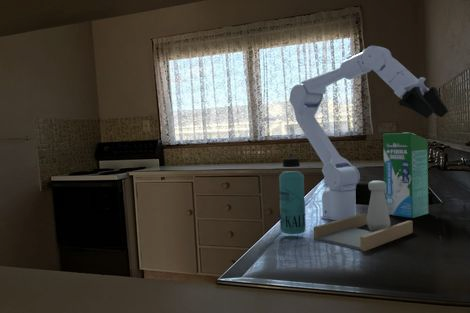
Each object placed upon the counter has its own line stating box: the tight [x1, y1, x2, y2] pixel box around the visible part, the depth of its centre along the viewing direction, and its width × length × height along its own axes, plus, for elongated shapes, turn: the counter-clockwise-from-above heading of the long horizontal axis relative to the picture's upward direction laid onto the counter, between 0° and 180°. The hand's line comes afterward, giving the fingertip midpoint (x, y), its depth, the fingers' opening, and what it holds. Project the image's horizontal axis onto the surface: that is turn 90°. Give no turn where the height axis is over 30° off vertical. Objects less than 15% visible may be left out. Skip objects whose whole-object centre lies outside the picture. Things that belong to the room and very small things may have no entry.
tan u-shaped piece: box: [313, 213, 414, 252], centre depth 94 cm, size 14×21×3 cm, turn 128°
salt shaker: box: [366, 180, 391, 232], centre depth 97 cm, size 6×6×13 cm
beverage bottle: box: [278, 157, 307, 235], centre depth 95 cm, size 6×7×20 cm
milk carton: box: [382, 132, 429, 219], centre depth 116 cm, size 9×9×25 cm
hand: (437, 114), depth 91 cm, fingers open, 7 cm apart
